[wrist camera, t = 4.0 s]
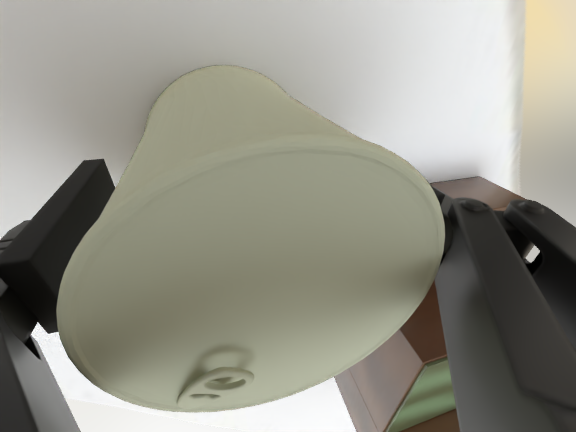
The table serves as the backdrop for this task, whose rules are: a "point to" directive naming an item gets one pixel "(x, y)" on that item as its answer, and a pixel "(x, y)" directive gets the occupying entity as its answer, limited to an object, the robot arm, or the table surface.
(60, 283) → the robot arm
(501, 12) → the table surface
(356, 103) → the table surface
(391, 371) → the shelf riser
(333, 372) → the can
